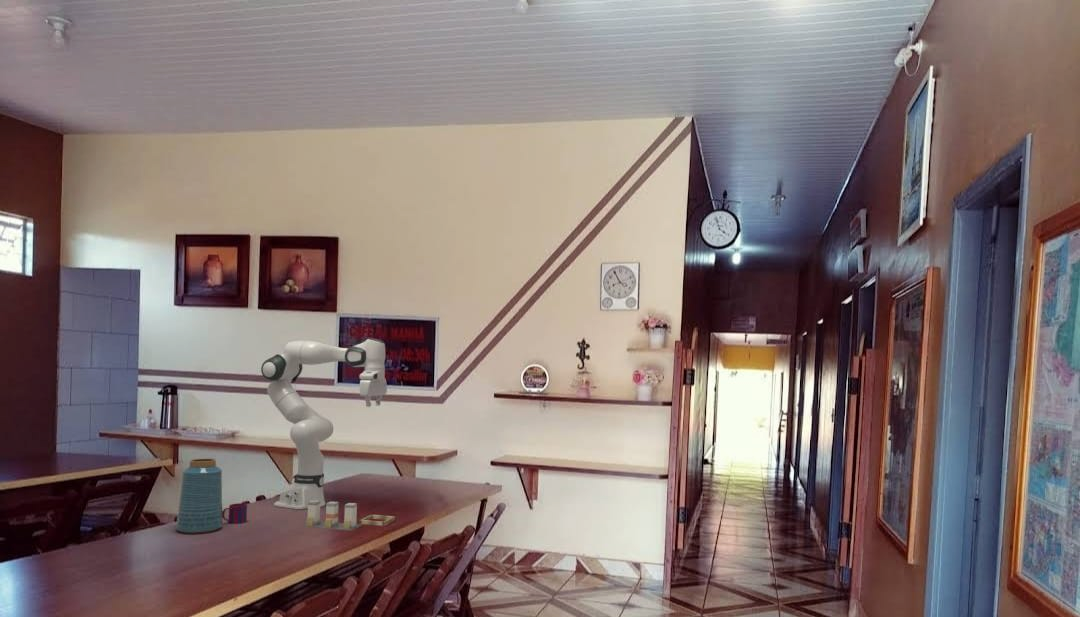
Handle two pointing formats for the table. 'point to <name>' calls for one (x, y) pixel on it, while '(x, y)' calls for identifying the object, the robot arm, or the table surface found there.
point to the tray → (387, 520)
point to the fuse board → (330, 525)
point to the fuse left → (314, 511)
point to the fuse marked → (332, 512)
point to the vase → (200, 497)
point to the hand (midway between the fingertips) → (373, 406)
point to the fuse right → (351, 514)
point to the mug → (236, 513)
